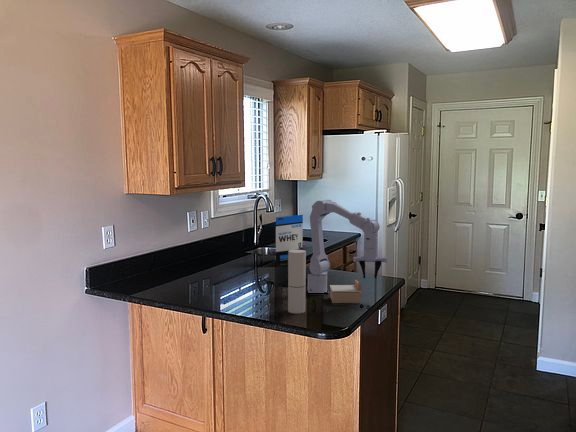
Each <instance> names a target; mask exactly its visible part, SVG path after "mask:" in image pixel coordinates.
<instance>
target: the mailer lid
mask: <svg viewBox="0 0 576 432" xmlns="http://www.w3.org/2000/svg"><path fill="white" fill-rule="evenodd" d="M330 288H331V290H332V292H360V293H362V285H361V283H360V282H359V281H358V279H355V280H354V284H329V289H330Z"/></svg>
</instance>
